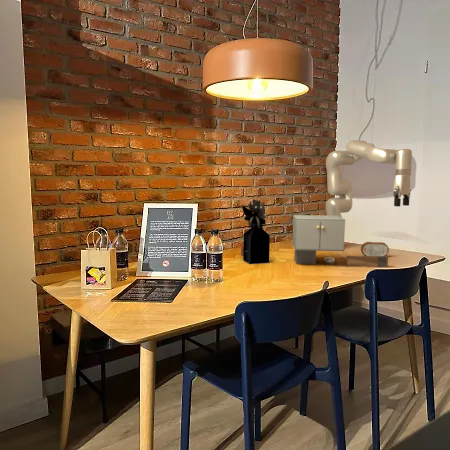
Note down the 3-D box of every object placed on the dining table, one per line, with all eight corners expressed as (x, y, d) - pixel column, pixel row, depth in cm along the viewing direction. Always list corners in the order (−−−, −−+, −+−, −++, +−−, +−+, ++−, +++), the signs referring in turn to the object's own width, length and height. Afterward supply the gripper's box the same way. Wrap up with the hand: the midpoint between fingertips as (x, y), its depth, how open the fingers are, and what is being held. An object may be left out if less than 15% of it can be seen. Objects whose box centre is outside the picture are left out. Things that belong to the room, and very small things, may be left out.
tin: (387, 256, 245) (388, 242, 244) (389, 257, 242) (389, 242, 241) (360, 255, 247) (361, 241, 246) (361, 257, 244) (362, 242, 243)
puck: (324, 261, 231) (324, 257, 231) (333, 261, 231) (333, 257, 230) (325, 263, 226) (325, 259, 226) (335, 263, 226) (335, 259, 225)
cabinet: (292, 258, 237) (293, 215, 234) (336, 259, 235) (338, 215, 232) (295, 266, 218) (296, 219, 215) (343, 267, 216) (345, 219, 213)
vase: (245, 265, 219) (246, 196, 215) (237, 260, 230) (238, 194, 226) (271, 263, 224) (272, 196, 219) (262, 259, 235) (264, 194, 230)
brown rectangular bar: (346, 265, 221) (346, 255, 221) (386, 266, 220) (386, 256, 219) (347, 266, 219) (347, 256, 218) (387, 267, 218) (388, 257, 217)
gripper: (403, 173, 234) (402, 204, 236) (388, 173, 222) (386, 206, 224) (417, 173, 228) (415, 205, 230) (402, 173, 217) (400, 207, 219)
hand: (401, 205), depth 227 cm, fingers open, 9 cm apart
